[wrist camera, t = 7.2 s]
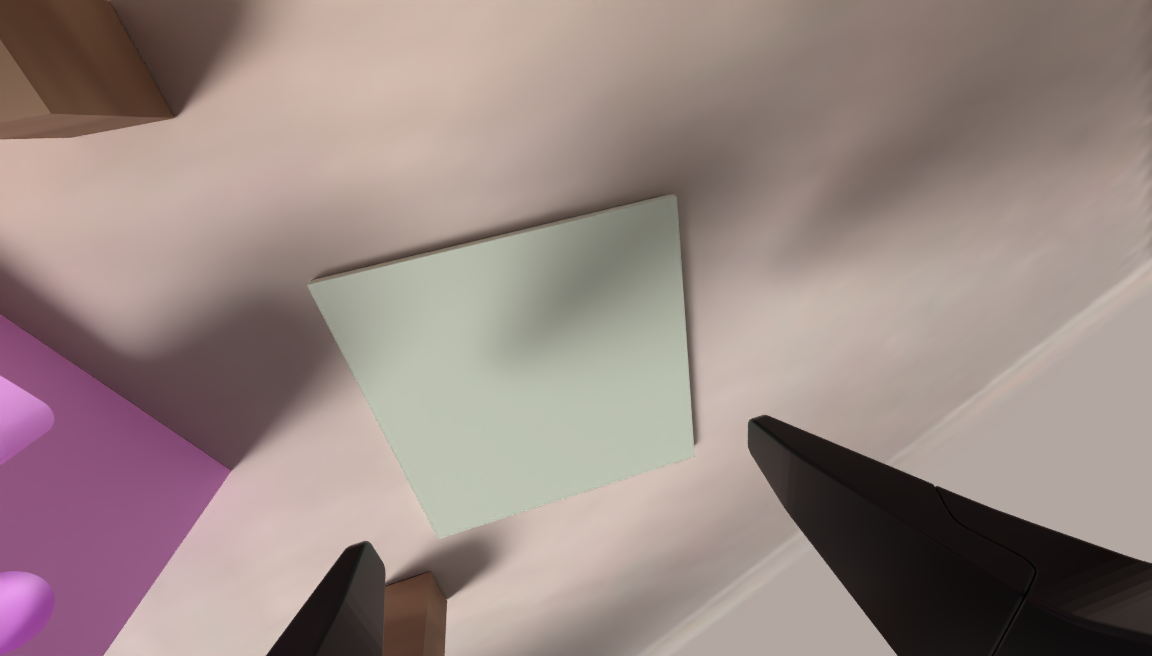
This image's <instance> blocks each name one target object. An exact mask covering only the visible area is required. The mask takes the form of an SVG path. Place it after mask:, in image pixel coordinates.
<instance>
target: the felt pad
mask: <svg viewBox="0 0 1152 656" xmlns="http://www.w3.org/2000/svg"><path fill="white" fill-rule="evenodd" d="M307 287H308V289H309V291H310V293H311V294H312V296H313V298H314V300H315V302H316V304H317V306H318V308H319V310H320V312H321V314H322V316H323V318H324V320H325V321H326V323H327V325H328V327H329V329H330V331H331V333H332V335H333V337H334V339H335V341H336V343H337V345H338V347H339V348H340V350H341V352H342V354H343V356H344V358H345V360H346V362H347V364H348V366H349V368H350V370H351V372H352V374H353V375H354V377H355V379H356V381H357V383H358V385H359V387H360V389H361V391H362V393H363V395H364V397H365V399H366V401H367V402H368V404H369V406H370V408H371V410H372V412H373V414H374V416H375V418H376V420H377V422H378V424H379V426H380V428H381V429H382V431H383V433H384V435H385V437H386V439H387V441H388V443H389V445H390V447H391V449H392V451H393V453H394V455H395V457H396V458H397V460H398V462H399V464H400V466H401V468H402V470H403V472H404V474H405V476H406V478H407V480H408V482H409V484H410V485H411V487H412V489H413V491H414V493H415V495H416V497H417V499H418V501H419V503H420V505H421V507H422V509H423V511H424V512H425V514H426V516H427V518H428V520H429V522H430V524H431V526H432V528H433V530H434V532H435V534H436V536H437V538H438V539H441V538H444V537H447V536H450V535H453V534H456V533H460V532H463V531H466V530H469V529H472V528H475V527H478V526H481V525H484V524H487V523H490V522H494V521H497V520H500V519H503V518H506V517H509V516H512V515H515V514H518V513H521V512H525V511H528V510H531V509H534V508H537V507H540V506H543V505H546V504H549V503H552V502H556V501H559V500H562V499H565V498H568V497H571V496H574V495H577V494H580V493H583V492H586V491H590V490H593V489H596V488H599V487H602V486H605V485H608V484H611V483H614V482H617V481H621V480H624V479H627V478H630V477H633V476H636V475H639V474H642V473H645V472H648V471H652V470H655V469H658V468H661V467H664V466H667V465H670V464H673V463H676V462H679V461H682V460H686V459H689V458H692V457H695V455H694V440H693V426H692V411H691V396H690V381H689V367H688V352H687V337H686V322H685V308H684V293H683V278H682V263H681V249H680V234H679V219H678V204H677V196H675V195H672V194H669V195H665V196H660V197H656V198H652V199H648V200H644V201H640V202H635V203H631V204H627V205H623V206H619V207H615V208H610V209H606V210H602V211H598V212H594V213H590V214H585V215H581V216H577V217H573V218H569V219H564V220H560V221H556V222H552V223H548V224H544V225H539V226H535V227H531V228H527V229H523V230H519V231H514V232H510V233H506V234H502V235H498V236H494V237H489V238H485V239H481V240H477V241H473V242H469V243H464V244H460V245H456V246H452V247H448V248H443V249H439V250H435V251H431V252H427V253H423V254H418V255H414V256H410V257H406V258H402V259H398V260H393V261H389V262H385V263H381V264H377V265H373V266H368V267H364V268H360V269H356V270H352V271H347V272H343V273H339V274H335V275H331V276H327V277H322V278H318V279H314V280H311V281H310V282H309V283H308V284H307Z"/></svg>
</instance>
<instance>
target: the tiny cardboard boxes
mask: <svg viewBox="0 0 1152 656" xmlns="http://www.w3.org/2000/svg"><path fill="white" fill-rule="evenodd" d="M173 118H175V117H174V116H173V114H172V112H171V110H170V108H169V107H168V105H167V103H166V101H165V100H164V98H163V96H162V94H161V93H160V91H159V89H158V87H157V85H156V84H155V82H154V80H153V78H152V77H151V75H150V73H149V71H148V69H147V68H146V66H145V64H144V62H143V61H142V59H141V57H140V55H139V53H138V52H137V50H136V48H135V46H134V45H133V43H132V41H131V39H130V38H129V36H128V34H127V32H126V30H125V29H124V27H123V25H122V23H121V22H120V20H119V18H118V16H117V14H116V13H115V11H114V9H113V7H112V6H111V4H110V2H107V1H104V0H0V139H30V138H71V137H77V136H82V135H87V134H93V133H98V132H103V131H109V130H114V129H119V128H125V127H130V126H135V125H141V124H146V123H151V122H157V121H162V120H167V119H173ZM446 611H447V600H446V598H445V597H444V595H443V593H442V591H441V589H440V588H439V586H438V584H437V582H436V581H435V579H434V577H433V575H432V574H431V572H428V573H425V574H422V575H419V576H416V577H413V578H410V579H407V580H404V581H400V582H397V583H394V584H391V585H388V586H385V608H384V640H383V654H382V656H444V654H445V633H446Z"/></svg>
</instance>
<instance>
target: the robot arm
mask: <svg viewBox="0 0 1152 656" xmlns="http://www.w3.org/2000/svg"><path fill="white" fill-rule="evenodd" d="M748 448H749V451H750V453H751V455H752V457H753V458H754V460H755V461H756V463H757V465H758V466H759V468H760V469H761V471H762V473H763V474H764V476H765V477H766V479H767V481H768V482H769V484H770V486H771V487H772V489H773V490H774V492H775V494H776V495H777V497H778V498H779V500H780V502H781V503H782V505H783V506H784V508H785V509H786V511H787V512H788V513H789V515H790V516H791V518H792V519H793V520H794V522H795V523H796V524H797V525H798V527H799V528H800V529H801V531H802V532H803V533H804V535H805V536H806V537H807V538H808V540H809V541H810V542H811V544H812V545H813V546H814V548H815V549H816V550H817V551H818V553H819V554H820V555H821V557H822V558H823V559H824V561H825V562H826V563H827V564H828V566H829V567H830V568H831V570H832V571H833V572H834V574H835V575H836V576H837V577H838V579H839V580H840V581H841V583H842V584H843V585H844V587H845V588H846V589H847V591H848V592H849V593H850V594H851V596H852V597H853V598H854V600H855V601H856V602H857V604H858V605H859V606H860V607H861V609H862V610H863V611H864V613H865V614H866V615H867V616H868V618H869V619H870V620H871V622H872V623H873V624H874V626H875V627H876V628H877V630H878V631H879V632H880V633H881V634H882V636H883V637H884V639H885V640H886V641H887V643H888V644H889V645H890V647H891V648H892V649H893V650H894V652H895V653H896V654H897V656H1152V563H1149V562H1145V561H1141V560H1138V559H1135V558H1132V557H1128V556H1126V555H1123V554H1120V553H1117V552H1114V551H1111V550H1108V549H1106V548H1103V547H1100V546H1097V545H1094V544H1091V543H1088V542H1086V541H1083V540H1080V539H1077V538H1074V537H1071V536H1068V535H1065V534H1063V533H1060V532H1057V531H1054V530H1052V529H1048V528H1046V527H1043V526H1040V525H1037V524H1034V523H1031V522H1029V521H1026V520H1023V519H1020V518H1018V517H1015V516H1012V515H1010V514H1007V513H1004V512H1001V511H998V510H996V509H993V508H990V507H988V506H985V505H983V504H980V503H978V502H976V501H973V500H971V499H968V498H966V497H963V496H961V495H958V494H956V493H953V492H951V491H949V490H946V489H943V488H941V487H939V486H936V487H935V486H934V485H933V484H931V483H929V482H927V481H924V480H922V479H919V478H917V477H914V476H912V475H910V474H907V473H905V472H903V471H900V470H898V469H895V468H893V467H891V466H888V465H886V464H883V463H881V462H878V461H876V460H874V459H871V458H869V457H866V456H864V455H862V454H859V453H857V452H854V451H852V450H850V449H847V448H845V447H842V446H840V445H838V444H835V443H833V442H830V441H828V440H826V439H823V438H821V437H818V436H816V435H814V434H811V433H809V432H806V431H804V430H802V429H799V428H797V427H794V426H792V425H790V424H787V423H785V422H782V421H780V420H778V419H775V418H773V417H770V416H768V415H762V416H758V417H755V418H752V419H750V420H749V422H748ZM384 608H385V567H384V564H383V562H382V560H381V559H380V557H379V555H378V554H377V552H376V551H375V549H374V548H373V546H372V544H371V543H370V542H368V541H363V542H360V543H357V544H354V545H351V546H349V547H347V548H346V549H345V550H344V551H343V553H342V554H341V555H340V557H339V558H338V560H337V561H336V562H335V564H334V565H333V566H332V568H331V569H330V570H329V572H328V573H327V574H326V576H325V577H324V578H323V580H322V581H321V582H320V584H319V585H318V586H317V588H316V589H315V590H314V592H313V593H312V594H311V596H310V597H309V598H308V600H307V601H306V603H305V604H304V605H303V607H302V608H301V609H300V611H299V612H298V613H297V615H296V616H295V617H294V619H293V620H292V621H291V623H290V624H289V625H288V627H287V628H286V629H285V631H284V632H283V633H282V635H281V636H280V637H279V639H278V640H277V641H276V643H275V644H274V646H273V647H272V648H271V650H270V651H269V652H268V654H267V655H266V656H382V654H383V640H384Z"/></svg>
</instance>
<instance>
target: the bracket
mask: <svg viewBox="0 0 1152 656" xmlns="http://www.w3.org/2000/svg"><path fill="white" fill-rule="evenodd" d="M230 472H231V470H229V469H228V468H226V467H225V466H223V465H222V464H220V463H219V462H217V461H216V460H214V459H213V458H212V457H210V456H209V455H207V454H206V453H204V452H203V451H201V450H200V449H198V448H197V447H195V446H194V445H192V444H191V443H189V442H188V441H186V440H185V439H183V438H182V437H181V436H179V435H178V434H176V433H175V432H173V431H172V430H170V429H169V428H167V427H166V426H164V425H163V424H161V423H160V422H158V421H157V420H155V419H154V418H153V417H151V416H150V415H148V414H147V413H145V412H144V411H142V410H141V409H139V408H138V407H136V406H135V405H133V404H132V403H130V402H129V401H127V400H126V399H125V398H123V397H122V396H120V395H119V394H117V393H116V392H114V391H113V390H111V389H110V388H108V387H107V386H105V385H104V384H102V383H101V382H99V381H98V380H96V379H95V378H94V377H92V376H91V375H89V374H88V373H86V372H85V371H83V370H82V369H80V368H79V367H77V366H76V365H74V364H73V363H71V362H70V361H68V360H67V359H66V358H64V357H63V356H61V355H60V354H58V353H57V352H55V351H54V350H52V349H51V348H49V347H48V346H46V345H45V344H43V343H42V342H40V341H39V340H38V339H36V338H35V337H33V336H32V335H30V334H29V333H27V332H26V331H24V330H23V329H21V328H20V327H18V326H17V325H15V324H14V323H12V322H11V321H10V320H8V319H7V318H5V317H4V316H2V315H1V314H0V656H103V655H104V654H105V652H106V651H107V649H108V648H109V647H110V645H111V644H112V642H113V641H114V639H115V638H116V637H117V635H118V634H119V632H120V631H121V629H122V628H123V626H124V625H125V624H126V622H127V621H128V619H129V618H130V616H131V615H132V613H133V612H134V611H135V609H136V608H137V606H138V605H139V603H140V602H141V600H142V599H143V598H144V596H145V595H146V593H147V592H148V590H149V589H150V587H151V586H152V585H153V583H154V582H155V580H156V579H157V577H158V576H159V574H160V573H161V572H162V570H163V569H164V567H165V566H166V564H167V563H168V561H169V560H170V559H171V557H172V556H173V554H174V553H175V551H176V550H177V548H178V547H179V546H180V544H181V543H182V541H183V540H184V538H185V537H186V536H187V534H188V533H189V531H190V530H191V528H192V527H193V525H194V524H195V523H196V521H197V520H198V518H199V517H200V515H201V514H202V512H203V511H204V510H205V508H206V507H207V505H208V504H209V502H210V501H211V499H212V498H213V497H214V495H215V494H216V492H217V491H218V489H219V488H220V486H221V485H222V484H223V482H224V481H225V479H226V478H227V476H228V475H229V473H230Z"/></svg>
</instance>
